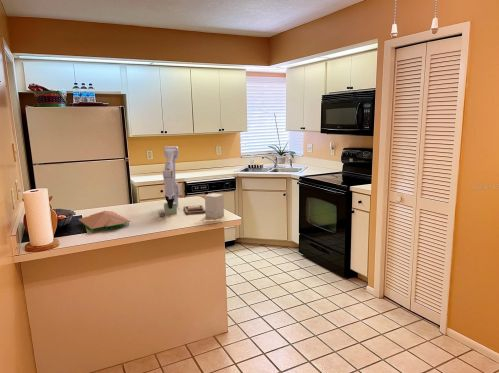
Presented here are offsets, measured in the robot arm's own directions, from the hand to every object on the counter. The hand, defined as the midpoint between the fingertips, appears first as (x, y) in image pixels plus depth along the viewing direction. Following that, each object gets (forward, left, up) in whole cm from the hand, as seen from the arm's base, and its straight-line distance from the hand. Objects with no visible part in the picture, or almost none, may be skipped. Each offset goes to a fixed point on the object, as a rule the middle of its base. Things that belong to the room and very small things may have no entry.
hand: (170, 207), depth 249 cm
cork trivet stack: (-5, +16, -4) cm, 18 cm away
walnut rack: (-1, +16, -5) cm, 17 cm away
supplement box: (+16, +27, -5) cm, 32 cm away
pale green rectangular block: (0, 0, -4) cm, 4 cm away
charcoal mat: (0, 0, -5) cm, 5 cm away
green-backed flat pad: (+11, -41, -6) cm, 43 cm away
